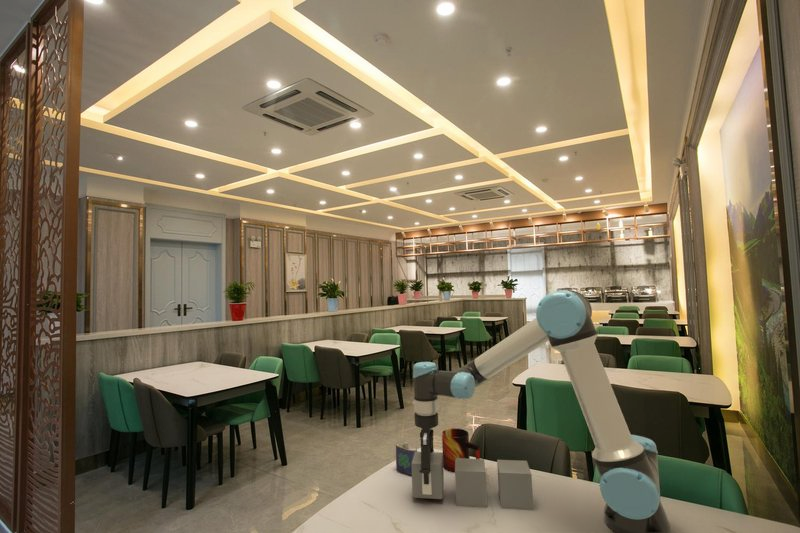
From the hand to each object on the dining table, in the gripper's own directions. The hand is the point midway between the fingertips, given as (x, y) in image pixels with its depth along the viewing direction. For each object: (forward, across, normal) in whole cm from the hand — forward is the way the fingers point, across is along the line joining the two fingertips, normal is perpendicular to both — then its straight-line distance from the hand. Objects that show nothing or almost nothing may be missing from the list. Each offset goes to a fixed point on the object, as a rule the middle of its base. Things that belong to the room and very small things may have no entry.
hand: (428, 485), depth 122 cm
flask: (+3, -15, -9) cm, 18 cm away
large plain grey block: (+1, 0, 0) cm, 1 cm away
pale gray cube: (+3, 0, +13) cm, 13 cm away
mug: (+3, -21, +10) cm, 24 cm away
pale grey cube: (+3, 0, +26) cm, 26 cm away
